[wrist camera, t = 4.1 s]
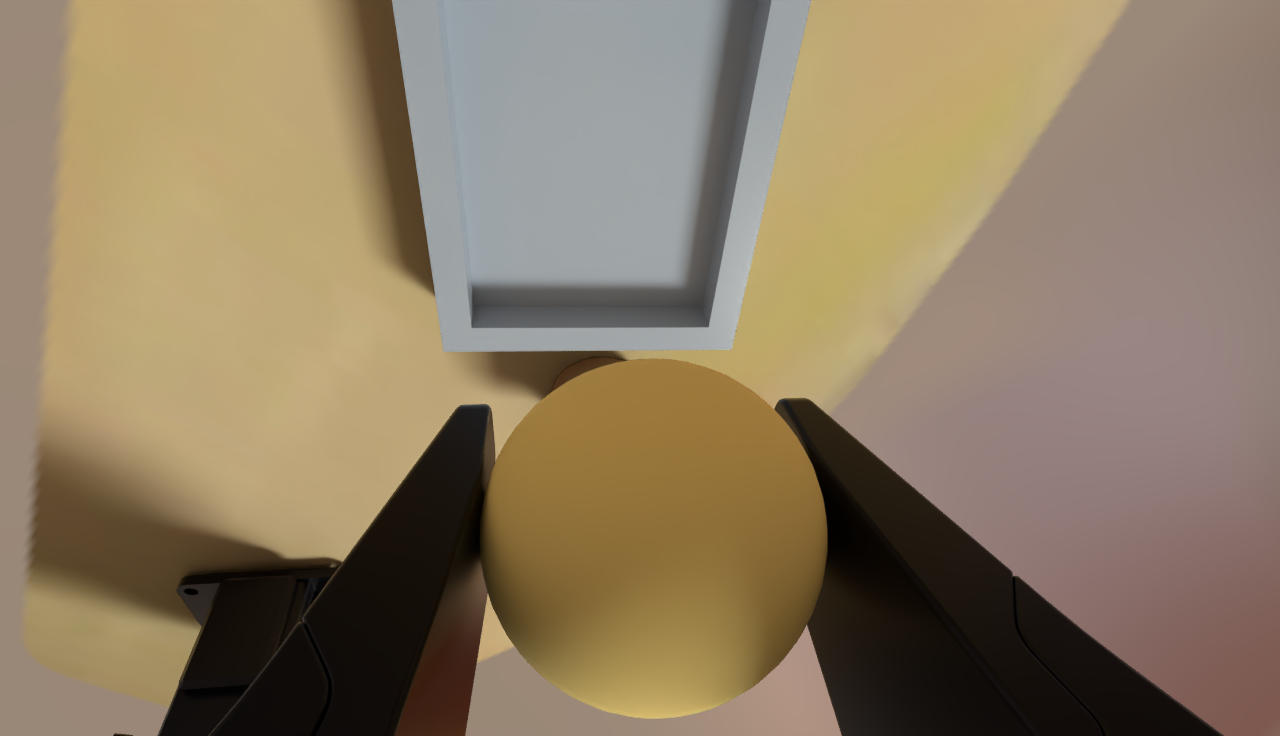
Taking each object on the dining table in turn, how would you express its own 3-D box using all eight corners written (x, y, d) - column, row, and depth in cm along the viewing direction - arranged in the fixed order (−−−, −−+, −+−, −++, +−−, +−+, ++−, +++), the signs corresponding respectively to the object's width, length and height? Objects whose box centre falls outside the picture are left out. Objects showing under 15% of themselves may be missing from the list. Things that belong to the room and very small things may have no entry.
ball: (744, 493, 11) (822, 759, 8) (499, 502, 10) (480, 793, 7) (802, 292, 8) (957, 575, 5) (479, 290, 8) (436, 606, 5)
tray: (717, 308, 20) (731, 349, 18) (451, 308, 19) (443, 352, 17) (794, -81, 13) (826, -67, 12) (395, -118, 12) (376, -109, 11)
